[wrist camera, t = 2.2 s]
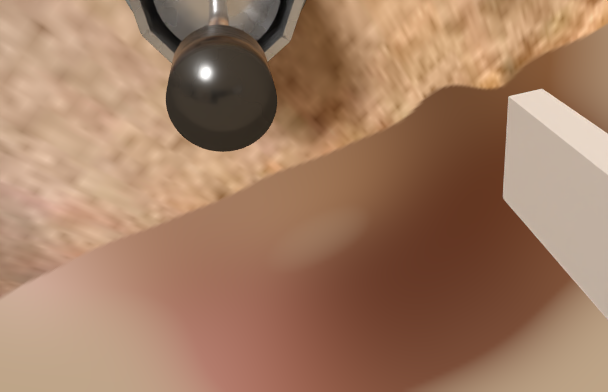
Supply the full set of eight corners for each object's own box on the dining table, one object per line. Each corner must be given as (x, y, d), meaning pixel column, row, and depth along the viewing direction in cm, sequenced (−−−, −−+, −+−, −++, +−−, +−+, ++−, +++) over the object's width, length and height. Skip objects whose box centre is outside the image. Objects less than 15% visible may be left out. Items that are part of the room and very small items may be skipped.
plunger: (175, 61, 34) (145, 225, 19) (132, -69, 30) (46, 5, 14) (290, 35, 35) (354, 176, 19) (264, -98, 30) (322, -56, 15)
